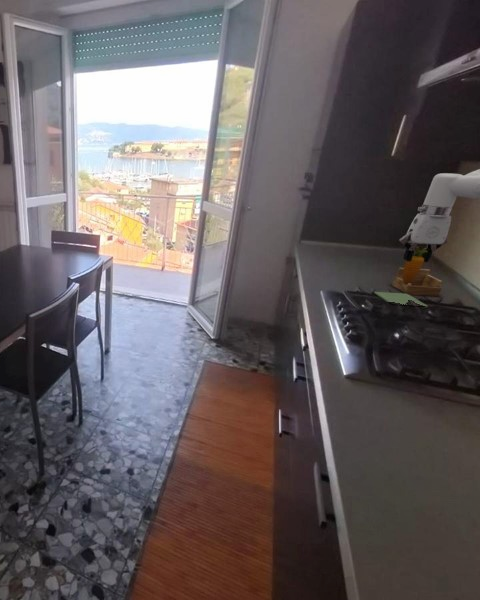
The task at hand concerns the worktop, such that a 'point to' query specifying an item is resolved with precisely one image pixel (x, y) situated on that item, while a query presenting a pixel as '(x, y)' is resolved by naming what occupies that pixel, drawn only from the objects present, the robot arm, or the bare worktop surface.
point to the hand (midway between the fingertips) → (415, 260)
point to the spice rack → (418, 283)
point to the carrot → (413, 266)
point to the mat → (398, 298)
